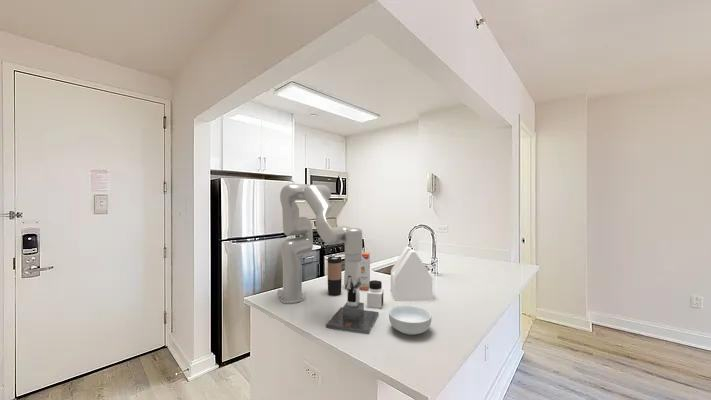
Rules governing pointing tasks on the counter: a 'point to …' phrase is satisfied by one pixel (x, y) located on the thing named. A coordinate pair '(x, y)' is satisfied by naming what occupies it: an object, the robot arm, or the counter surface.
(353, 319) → the stand base
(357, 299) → the column
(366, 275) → the cracker box
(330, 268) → the travel mug
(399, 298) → the white house-shaped block
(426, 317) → the cereal bowl
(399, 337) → the counter surface
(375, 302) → the medicine bottle
